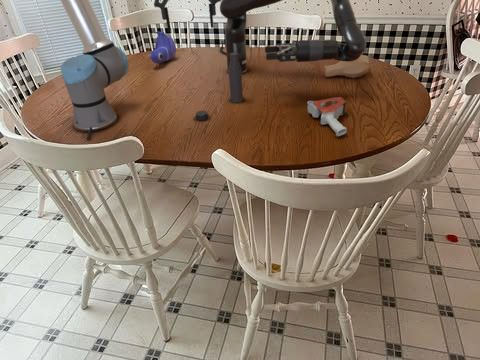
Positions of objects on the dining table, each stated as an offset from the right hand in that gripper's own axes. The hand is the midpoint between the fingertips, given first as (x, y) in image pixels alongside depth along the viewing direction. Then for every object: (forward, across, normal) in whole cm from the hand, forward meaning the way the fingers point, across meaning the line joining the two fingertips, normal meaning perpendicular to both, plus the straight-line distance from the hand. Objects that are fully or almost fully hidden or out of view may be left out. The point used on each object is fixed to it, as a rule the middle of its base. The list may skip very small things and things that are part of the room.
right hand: (265, 53), depth 132 cm
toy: (+51, -53, +18) cm, 75 cm away
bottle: (+12, 0, +18) cm, 22 cm away
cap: (+25, +15, +16) cm, 33 cm away
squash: (-37, -21, +18) cm, 46 cm away
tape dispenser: (-20, +22, +18) cm, 35 cm away
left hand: (+24, +15, -13) cm, 32 cm away
